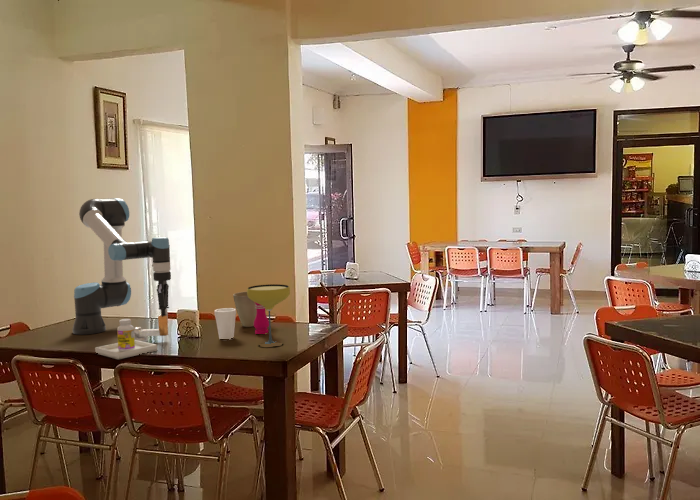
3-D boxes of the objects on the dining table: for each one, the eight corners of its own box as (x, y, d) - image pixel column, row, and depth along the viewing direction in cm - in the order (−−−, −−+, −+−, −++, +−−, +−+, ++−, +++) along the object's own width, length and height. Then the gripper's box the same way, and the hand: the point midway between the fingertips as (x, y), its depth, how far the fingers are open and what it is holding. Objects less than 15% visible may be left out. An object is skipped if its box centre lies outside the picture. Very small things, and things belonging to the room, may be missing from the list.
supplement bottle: (115, 351, 273) (113, 321, 272) (122, 348, 280) (121, 318, 279) (130, 351, 272) (129, 321, 271) (137, 348, 279) (136, 318, 278)
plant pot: (237, 322, 334) (236, 291, 333) (267, 322, 333) (265, 291, 332) (231, 328, 319) (230, 296, 318) (261, 328, 319) (260, 295, 317)
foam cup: (211, 338, 297) (210, 310, 296) (228, 335, 304) (227, 307, 303) (224, 341, 291) (223, 312, 290) (241, 337, 298) (240, 309, 297)
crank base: (122, 342, 294) (121, 333, 293) (140, 339, 301) (139, 329, 300) (133, 345, 288) (133, 335, 288) (151, 341, 295) (151, 331, 295)
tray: (95, 353, 275) (95, 347, 275) (134, 345, 289) (133, 339, 289) (118, 359, 263) (118, 353, 263) (157, 350, 277) (157, 344, 277)
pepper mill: (266, 335, 302) (265, 292, 300) (251, 335, 303) (250, 292, 301) (271, 332, 309) (270, 289, 307) (257, 331, 310) (255, 289, 308)
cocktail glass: (300, 342, 285) (298, 285, 283) (274, 351, 269) (272, 291, 267) (266, 338, 294) (264, 283, 292) (240, 347, 279) (238, 289, 276)
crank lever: (130, 336, 292) (129, 318, 291) (133, 334, 296) (132, 316, 296) (166, 335, 292) (165, 316, 291) (169, 333, 296) (168, 315, 296)
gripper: (156, 270, 302) (159, 320, 304) (149, 273, 289) (152, 326, 291) (173, 269, 302) (176, 320, 304) (167, 273, 290) (169, 325, 292)
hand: (164, 323), depth 298 cm, fingers closed
